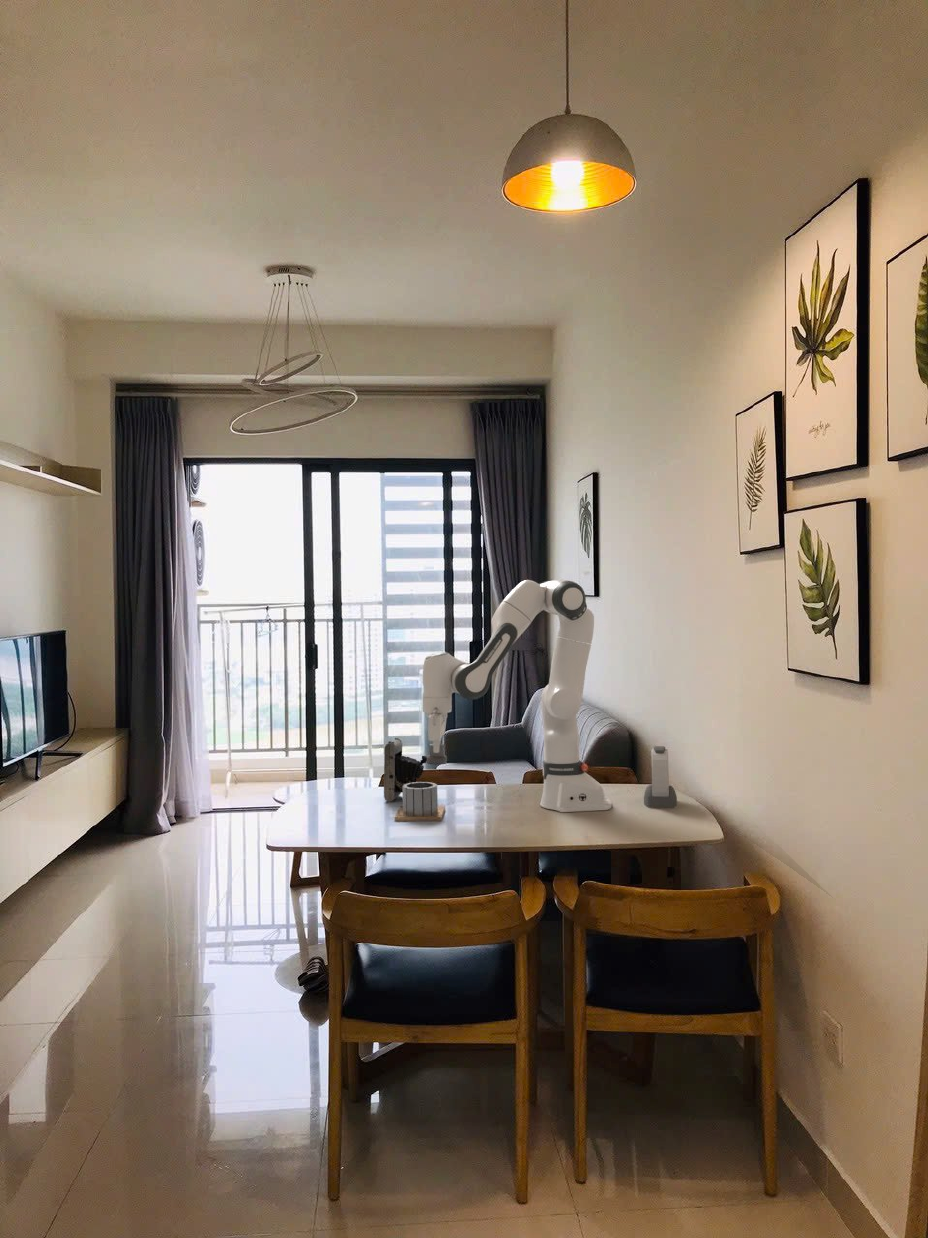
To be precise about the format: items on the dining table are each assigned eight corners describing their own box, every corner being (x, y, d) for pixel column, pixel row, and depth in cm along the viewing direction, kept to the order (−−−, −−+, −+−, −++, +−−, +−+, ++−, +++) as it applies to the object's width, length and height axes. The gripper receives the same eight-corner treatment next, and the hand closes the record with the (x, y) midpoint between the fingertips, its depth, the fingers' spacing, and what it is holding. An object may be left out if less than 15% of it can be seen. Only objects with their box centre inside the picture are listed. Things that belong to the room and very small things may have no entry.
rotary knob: (447, 761, 271) (447, 743, 271) (446, 764, 265) (446, 746, 265) (427, 760, 272) (427, 743, 272) (426, 764, 266) (426, 746, 266)
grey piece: (644, 797, 290) (643, 742, 290) (676, 798, 288) (675, 742, 287) (643, 809, 274) (642, 750, 274) (677, 810, 272) (676, 751, 272)
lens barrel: (445, 809, 278) (444, 780, 278) (441, 821, 264) (440, 790, 264) (401, 810, 279) (400, 781, 279) (394, 821, 265) (394, 790, 265)
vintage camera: (428, 805, 288) (429, 743, 287) (382, 801, 291) (384, 741, 290) (435, 798, 297) (436, 739, 297) (391, 795, 300) (392, 737, 300)
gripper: (445, 710, 258) (444, 757, 258) (449, 702, 278) (449, 746, 278) (423, 710, 258) (423, 757, 258) (429, 702, 278) (429, 746, 279)
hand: (436, 751), depth 269 cm, fingers closed on rotary knob
